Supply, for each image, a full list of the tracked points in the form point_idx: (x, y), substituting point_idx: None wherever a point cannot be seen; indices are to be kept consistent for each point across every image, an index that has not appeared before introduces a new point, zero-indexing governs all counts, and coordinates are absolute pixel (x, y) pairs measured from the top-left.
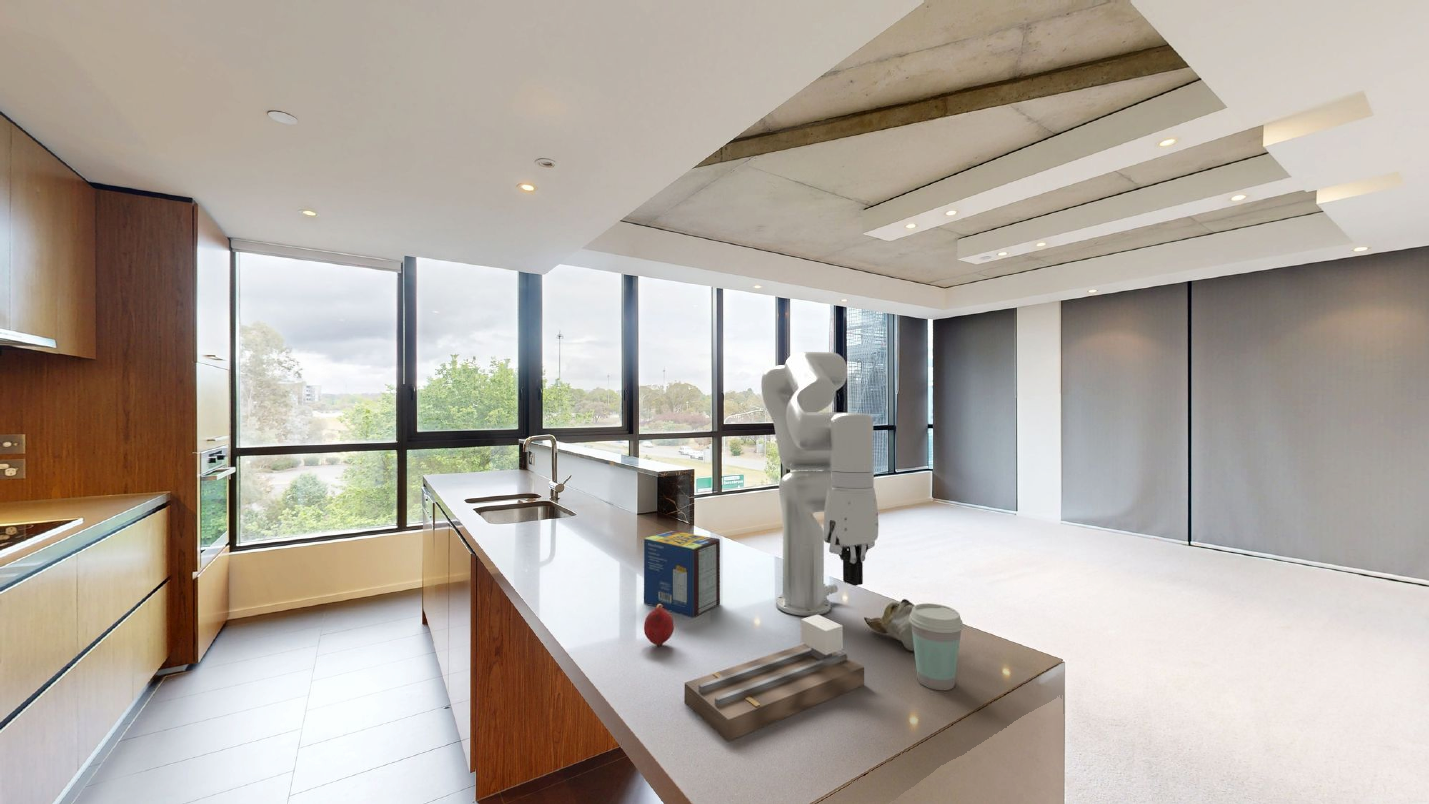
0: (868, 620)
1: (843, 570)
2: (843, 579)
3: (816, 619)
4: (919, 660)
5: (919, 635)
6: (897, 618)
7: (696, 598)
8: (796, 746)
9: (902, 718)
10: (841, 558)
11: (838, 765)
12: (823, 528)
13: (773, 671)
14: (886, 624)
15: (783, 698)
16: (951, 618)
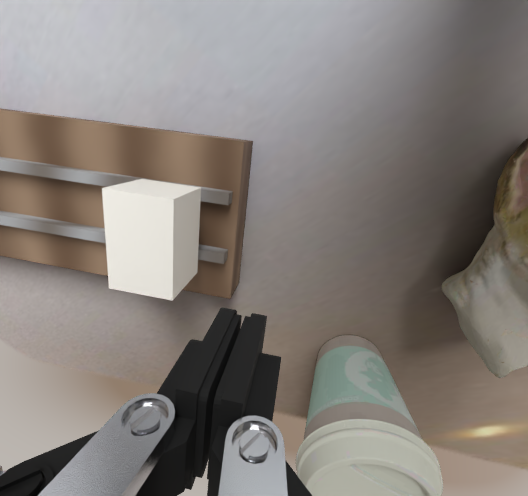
0: None
1: (203, 341)
2: (221, 311)
3: (141, 223)
4: (316, 378)
5: (306, 430)
6: (508, 275)
7: None
8: (40, 298)
9: None
10: (125, 414)
11: (63, 348)
12: None
13: (62, 185)
14: (500, 227)
15: (30, 260)
16: None
